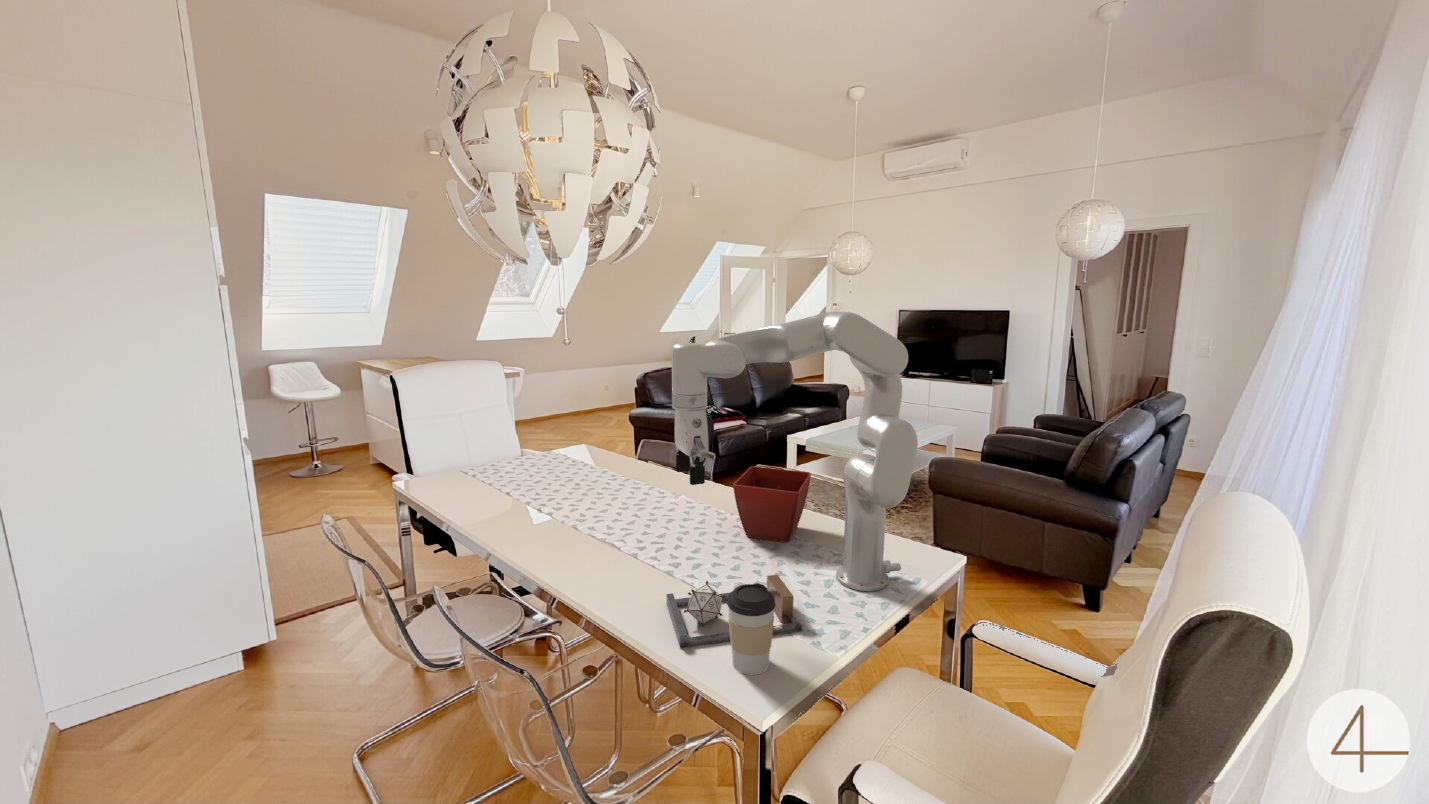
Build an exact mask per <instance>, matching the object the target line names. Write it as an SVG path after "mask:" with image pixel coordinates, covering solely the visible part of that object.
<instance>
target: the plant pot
mask: <svg viewBox="0 0 1429 804" xmlns="http://www.w3.org/2000/svg"><path fill="white" fill-rule="evenodd" d="M811 476H812V473H811V472H807V471H801V470H800V471H799V470H791V469H784V468H783V469H782V468H773V467H765V466H764V467H763V466H754V465H753V466H749V467H748V469H747V470H746V471H744V473H742V474H741V476H740V477H739V478H737V480H736V481H734V482H733V484H732V486H733V487H732V488H733V493H734V500H735V503H736V508H737V512H738V516H739V519H740V522H741V525H742V528H743V531H744V533H745V536H746V537H749V538H754V539H759V540H760V539H761V540H767V541H768V540H769V541H772V542H773V541H774V542H780V543H789V542H790V541H791V539H792V537H793V535H794V533H795V531H796V530H797V528H798V526H799V523H800V520H801V517H802V515H803V511H804V508H805V504H806V501H807V496H808V493H809V488H810V483H811V478H812V477H811Z"/></svg>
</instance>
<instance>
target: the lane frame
mask: <svg viewBox="0 0 1429 804" xmlns="http://www.w3.org/2000/svg"><path fill="white" fill-rule="evenodd" d="M766 588H767V590H768V592H770V593H771V594H772V595H773V596H774V598H775V608H774V614H775V615H776V617H777V618H778V620H779V622H780V623H781V624H776V625H775V624H774V625H773V632H772V636H774V635H779V634H787V633H793V632H800V631H803V625H802V624H801V622H800V621H799V619H798V618H797V617H796V615H795V613H794V595H793V594H792V592H791V591H790V589H789V588H788V587H787V586H786V584H785V583H784V582H783V579H781V578H780V576H779V574H770V575H767V576H766ZM731 592H732V591H729V592H724V593H723V592H722V593H719V594H720V595H721V596H724V595H725V596H726V597H725V598H722V602H725V601H728V596H729V594H730V593H731ZM689 599H690V596H689V597H683V598H682V597H681V598H675V595H674V593H666V607H667V610H668V613H669V616H670V619H671V620H670V621H671V623H672V626H673V629H674V632H675V636H676V639H677V642H678V645H679V648H687V647H694V646H700V645H701V646H702V645H707V644H709V645H710V644H714V643H715V644H717V643H722V642H729V641H730V631H726V632H718V633H711V634H704V635H697V636H690V637H688V633H687V631H686V630H687V629H686V628H685V625H684V622H683V618H682V616H681V613H680V609H679V607H682V606H683V607H685V606H688V603H689Z"/></svg>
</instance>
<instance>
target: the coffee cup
mask: <svg viewBox="0 0 1429 804" xmlns="http://www.w3.org/2000/svg"><path fill="white" fill-rule="evenodd" d="M730 592H731V593H730ZM730 592H729V593H730V594H729V596H728V600H726V604H727V605H726V606H727V607H728V615H727V616H728V617H727V619H728V626H729V630H728V631H729V632H730V648H731V659H732V665H733V666H732V667H734V670H737V671H738V672H739V673H741V674H745V675H749V676H750V675H751V676H752V675H754V676H755V675H759V674H762V673H764V672H766V671H767V669H768V668H769V662H770V652H771V648H772V642H773V641H772V639H773V635H772V632H773V626H774V623H775V622H774V621H775V615H774V614H775V612H774V608H775V598H774V596H773V595H772V594H771V593H770V592H768V590H767V586H765V584H764V585H763V584H762V583H758V582H756V583H753V584H750V583H747V584H741V585H738V586H736V587H735V588H734V589H733V590H732V591H730Z"/></svg>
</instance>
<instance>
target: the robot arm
mask: <svg viewBox="0 0 1429 804" xmlns="http://www.w3.org/2000/svg"><path fill="white" fill-rule="evenodd" d="M832 351H839V352H843V353H845V354H847V355H848V357H849V360H850V362H851V364H852V365H853V366H854V367H855V368H856V369H857V370H858V372H859V374H860V375H861V378H862V380H863V384H864V394H863V395H864V396H863V401H862V406H861V411H860V416H859V421H858V426H857V430H856V431H857V433H856V434H857V435H856V436H857V440H858V442H859V443H860V445H861V446H862V447H864V449H865V448H866V449H867V450H868V451H871V452H873V453H875V456H874V455H871V454H867V453H859V454H856V455H854V456H852V457H850V459H848V461H847V462H846V464H845V465H844V469H843V476H842V477H843V478H842V479H843V489H844V494H845V495H844V496H845V518H844V535H843V537H844V538H843V554H842V555H843V556H842V557H843V559H842V566H839V568H837V569H836V573H835V575H836V576H835V577H836V579H837V581H838V582H839V583H840V584H841V585H843V586H845V587H847V588H848V589H852V590H856V591H862V592H875V591H879V590H880V591H881V590H883V589H884V588H886V587H888V585H889V583H890V581H889V580H890V578H889V575H888V574H890V572H899V571H901V570H902V566H901V563H899V562H893V563H892V562H891V560H889V559H887V560H885V559H884V551H885V548H884V547H885V534H886V522H887V521H886V519H887V517H886V516H887V514H886V513H887V510H886V509H891V508H894V507H896V506H898V505H899V504H901V503H902V502H903V500H904V499H905V498H906V495H907V493H908V491H909V487H910V483H911V481H912V480H911V478H912V475H913V470H914V465H915V461H916V456H917V452H918V445H919V444H918V435H917V432H916V429H915V428H914V427H913V425H912V424H911V423H910V422H909V421H908V420H907V421H906V420H905V419H903V418H900V411H901V404H902V397H903V383H902V378H901V376H900V374H902V372H904V370H905V369H906V368H907V365H908V363H909V354H908V350H907V348H906V346H905V344H904V343H903V342H902V341H901V340H899V339H898V338H896V337H895V336H893V335H892V334H890V333H888V332H887V331H885V330H883V329H882V328H881V327H879V326H877V325H876V324H874V323H873V322H871V321H870V320H868V319H866V317H863V316H861V315H860V314H857V313H854V312H850V311H829V312H828V311H827V312H823V313H819V314H815V315H812V316H811V315H810V316H808V317H805V318H804V317H803V318H800V319H796V320H791V321H789V322H782V323H778V324H775V325H770V326H765V327H763V328H758V329H753V330H748V331H743V332H739V333H734V334H731V335H726V336H723V337H719V338H715V339H712V340H710V341H709V342H707V343H706V344H702V343H701V342H700V343H699V342H680V343H679V342H678V343H676V344H674V345H673V346H672V349H671V409H673V410H675V411H674V443H675V447H676V448H675V471H676V472H677V473H684V472H689V484H690V485H691V486H697V485H704V484H705V483H706V482H705V481H706V478H705V475H706V470H705V469H706V467H705V466H706V460H707V459H706V455H708V453H709V431H708V429H709V427H708V419H707V418H708V417H707V411H706V409H708V377H709V378H710V377H712V378H720V379H721V378H722V379H731V378H735V377H737V376H739V375H740V374H741V373H742V372H743V371H744V370H745V367H746V365H751V364H757V363H781V364H782V363H787V362H788V363H789V362H794V361H798V360H801V359H804V358H807V357H810V356H811V357H812V356H814V355H819V354H822V353H826V352H832Z"/></svg>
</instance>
